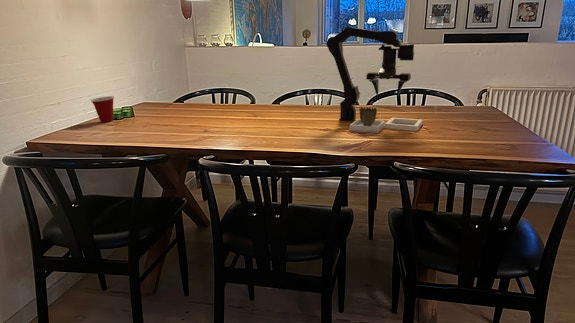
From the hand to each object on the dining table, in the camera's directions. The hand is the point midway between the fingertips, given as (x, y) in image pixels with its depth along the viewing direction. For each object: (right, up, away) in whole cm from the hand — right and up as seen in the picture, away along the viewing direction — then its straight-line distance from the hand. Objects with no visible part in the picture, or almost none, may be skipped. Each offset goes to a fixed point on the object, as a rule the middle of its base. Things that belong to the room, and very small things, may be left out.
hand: (387, 95), depth 180 cm
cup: (-11, -15, -9) cm, 21 cm away
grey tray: (-11, -16, -9) cm, 21 cm away
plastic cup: (-137, -10, +19) cm, 139 cm away
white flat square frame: (+6, -14, -6) cm, 17 cm away
